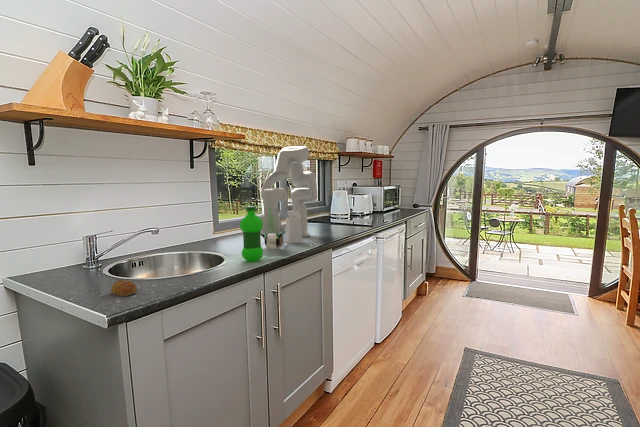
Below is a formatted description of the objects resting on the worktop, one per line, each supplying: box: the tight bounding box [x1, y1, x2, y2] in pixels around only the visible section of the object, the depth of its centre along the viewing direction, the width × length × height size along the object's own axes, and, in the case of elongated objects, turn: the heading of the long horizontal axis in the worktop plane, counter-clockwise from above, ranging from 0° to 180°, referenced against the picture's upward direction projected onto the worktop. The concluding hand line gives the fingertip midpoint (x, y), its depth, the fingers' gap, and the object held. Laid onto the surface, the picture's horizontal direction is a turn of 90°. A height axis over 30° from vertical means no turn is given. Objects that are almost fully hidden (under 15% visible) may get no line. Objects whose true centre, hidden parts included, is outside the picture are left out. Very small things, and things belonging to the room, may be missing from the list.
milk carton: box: [285, 210, 303, 244], centre depth 197 cm, size 7×7×19 cm
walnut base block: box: [267, 234, 284, 246], centre depth 190 cm, size 8×8×5 cm
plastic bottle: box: [239, 205, 264, 263], centre depth 156 cm, size 10×10×25 cm
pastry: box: [110, 279, 138, 297], centre depth 113 cm, size 9×7×4 cm
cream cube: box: [266, 237, 278, 248], centre depth 182 cm, size 5×5×5 cm
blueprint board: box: [261, 242, 289, 250], centre depth 186 cm, size 16×13×1 cm
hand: (272, 245), depth 182 cm, fingers closed on cream cube, 5 cm apart
